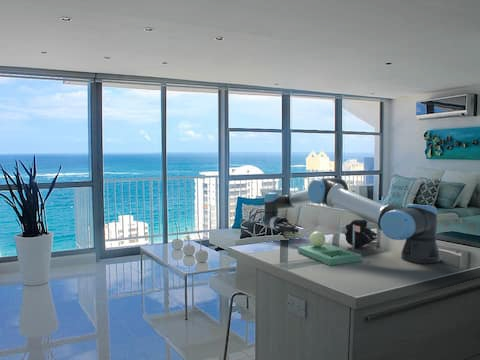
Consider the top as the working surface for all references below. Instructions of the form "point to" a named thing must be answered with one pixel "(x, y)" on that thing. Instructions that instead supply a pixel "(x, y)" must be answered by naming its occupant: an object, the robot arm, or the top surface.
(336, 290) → the top surface
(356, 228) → the flagpost
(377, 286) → the top surface
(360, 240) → the figurine
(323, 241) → the ball
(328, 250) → the green
